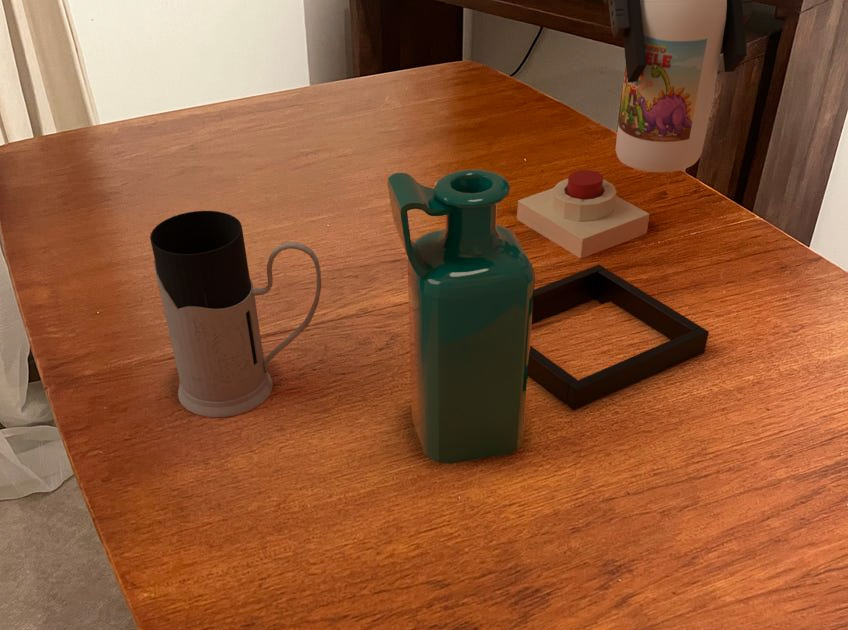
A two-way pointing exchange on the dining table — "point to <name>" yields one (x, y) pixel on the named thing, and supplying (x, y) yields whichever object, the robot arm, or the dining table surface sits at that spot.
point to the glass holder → (216, 312)
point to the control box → (582, 219)
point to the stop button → (585, 184)
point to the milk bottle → (672, 85)
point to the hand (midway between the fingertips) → (686, 68)
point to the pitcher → (465, 317)
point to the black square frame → (578, 393)
